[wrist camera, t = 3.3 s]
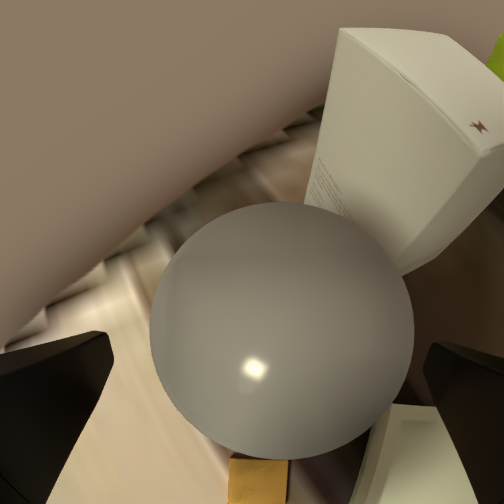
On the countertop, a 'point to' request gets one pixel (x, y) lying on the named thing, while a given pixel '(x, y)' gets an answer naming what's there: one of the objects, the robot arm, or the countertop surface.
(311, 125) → the countertop surface
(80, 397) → the robot arm
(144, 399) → the countertop surface
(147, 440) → the countertop surface
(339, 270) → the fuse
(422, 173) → the supplement box
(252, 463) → the blocks
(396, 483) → the tray
